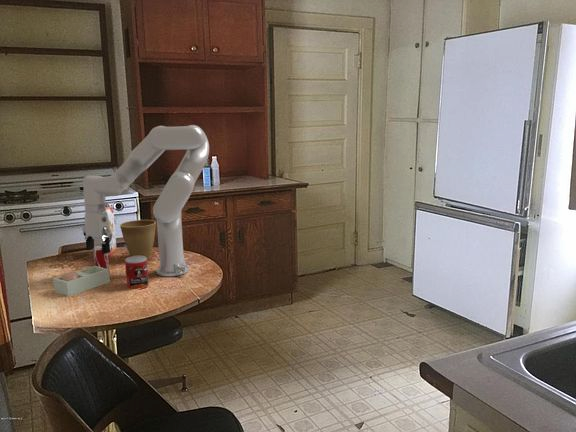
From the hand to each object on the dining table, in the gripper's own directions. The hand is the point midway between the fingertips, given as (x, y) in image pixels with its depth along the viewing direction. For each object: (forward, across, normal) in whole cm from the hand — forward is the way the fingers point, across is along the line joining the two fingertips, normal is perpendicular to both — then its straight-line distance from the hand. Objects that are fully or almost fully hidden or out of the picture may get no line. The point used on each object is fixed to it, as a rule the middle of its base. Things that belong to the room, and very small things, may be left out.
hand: (98, 251), depth 195 cm
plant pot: (+10, +5, -25) cm, 27 cm away
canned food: (+10, -23, 0) cm, 25 cm away
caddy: (+10, -7, +12) cm, 17 cm away
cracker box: (+11, +24, -21) cm, 34 cm away
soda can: (+10, -1, -1) cm, 11 cm away
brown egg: (+10, -7, +17) cm, 21 cm away
